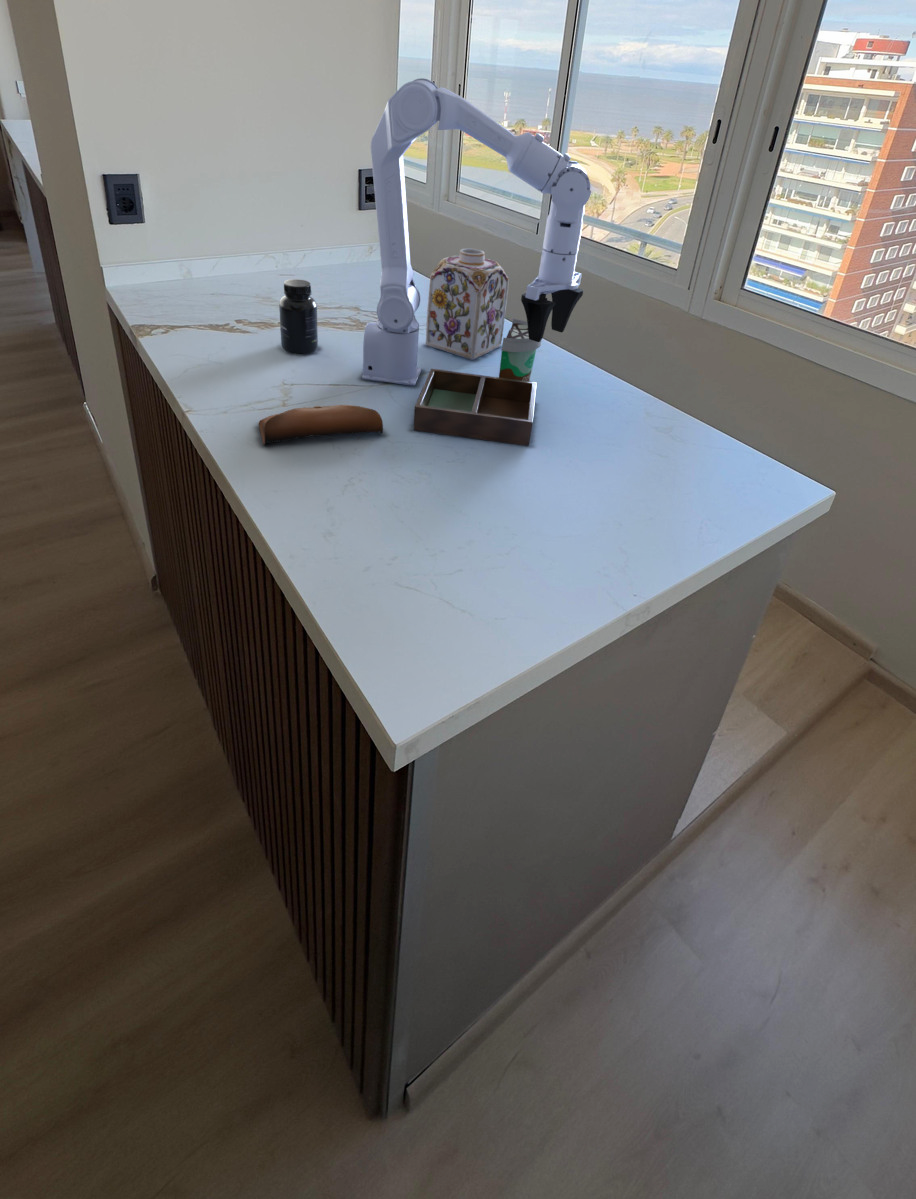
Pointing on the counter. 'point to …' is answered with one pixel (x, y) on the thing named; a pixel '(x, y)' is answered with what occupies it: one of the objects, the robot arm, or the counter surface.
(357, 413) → the sunglasses case
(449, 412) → the organiser tray
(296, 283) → the supplement bottle
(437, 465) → the counter surface
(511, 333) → the food container
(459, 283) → the decorative jar
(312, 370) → the counter surface
